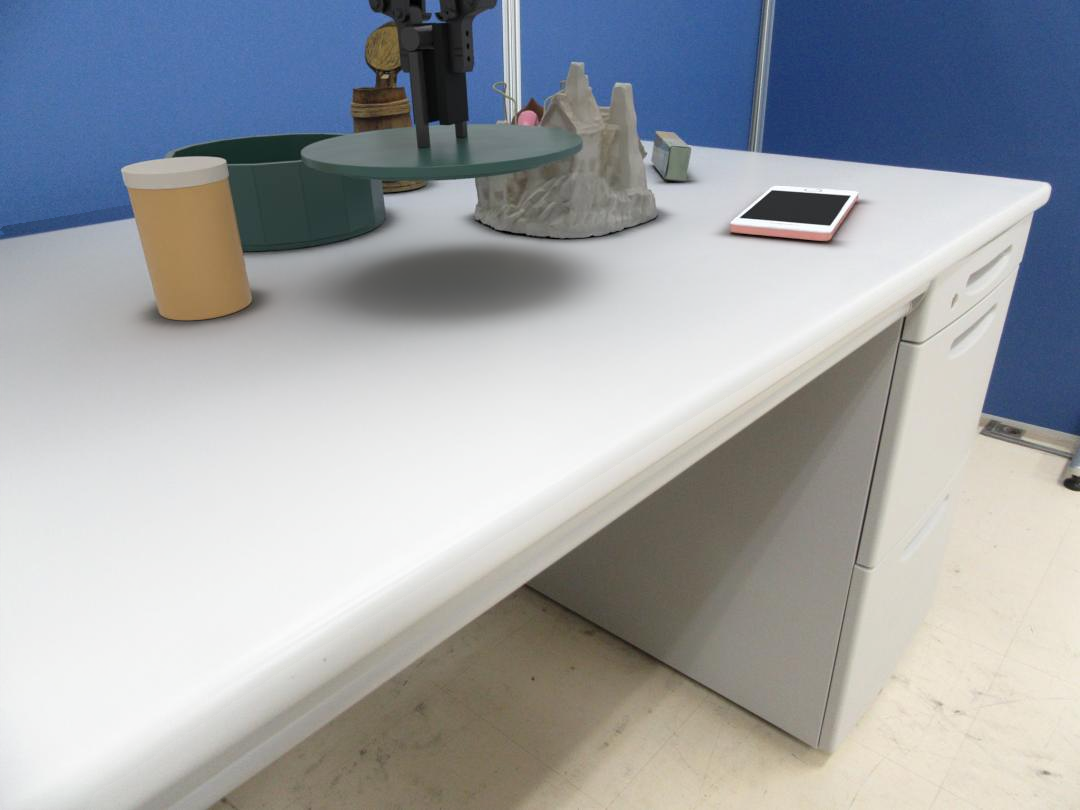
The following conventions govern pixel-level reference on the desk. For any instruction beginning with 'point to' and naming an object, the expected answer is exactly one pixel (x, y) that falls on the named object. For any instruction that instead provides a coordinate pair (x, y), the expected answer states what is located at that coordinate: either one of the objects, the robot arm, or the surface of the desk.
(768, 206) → the cell phone
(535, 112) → the anatomy model
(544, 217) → the ceramic cottage
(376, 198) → the pot
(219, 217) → the tan canister with cap
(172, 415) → the desk surface
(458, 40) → the robot arm
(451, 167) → the lid
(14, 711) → the desk surface
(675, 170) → the medication box
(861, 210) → the desk surface
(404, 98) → the wooden mug
